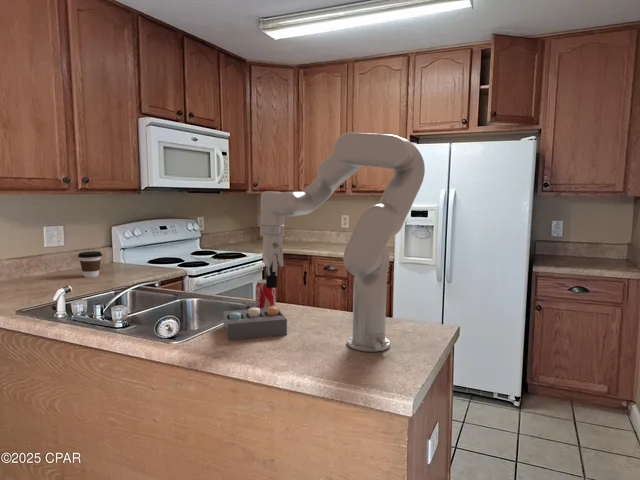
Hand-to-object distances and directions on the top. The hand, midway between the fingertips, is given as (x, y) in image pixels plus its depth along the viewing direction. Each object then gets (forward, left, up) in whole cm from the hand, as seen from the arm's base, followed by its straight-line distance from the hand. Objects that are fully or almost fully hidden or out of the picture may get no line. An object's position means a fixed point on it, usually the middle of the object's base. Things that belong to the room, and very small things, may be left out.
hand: (271, 287), depth 141 cm
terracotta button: (0, 0, -9) cm, 9 cm away
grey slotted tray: (0, +6, -14) cm, 15 cm away
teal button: (0, +12, -10) cm, 16 cm away
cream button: (0, +6, -9) cm, 11 cm away
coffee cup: (+105, +71, -14) cm, 128 cm away
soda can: (+18, -1, -14) cm, 23 cm away
